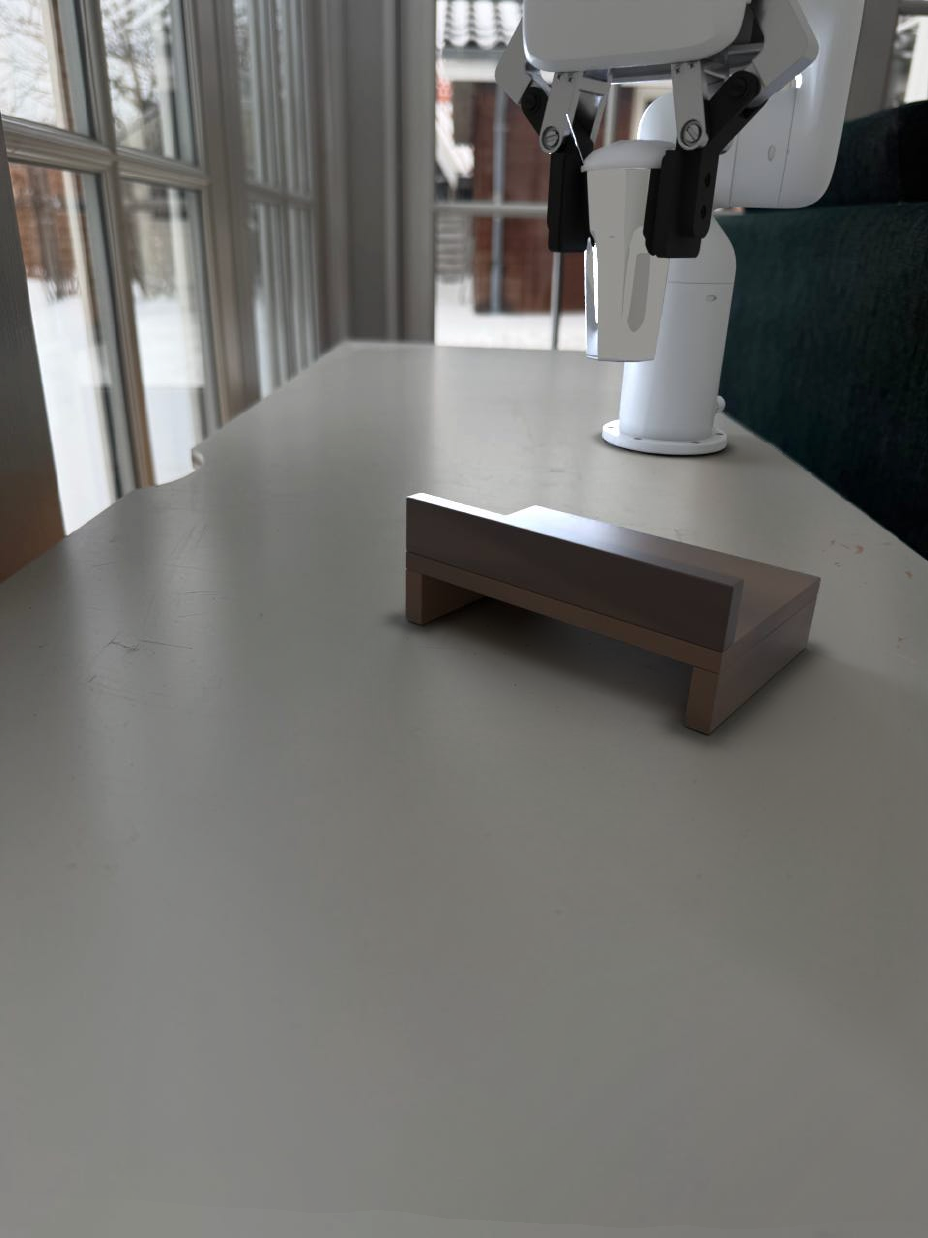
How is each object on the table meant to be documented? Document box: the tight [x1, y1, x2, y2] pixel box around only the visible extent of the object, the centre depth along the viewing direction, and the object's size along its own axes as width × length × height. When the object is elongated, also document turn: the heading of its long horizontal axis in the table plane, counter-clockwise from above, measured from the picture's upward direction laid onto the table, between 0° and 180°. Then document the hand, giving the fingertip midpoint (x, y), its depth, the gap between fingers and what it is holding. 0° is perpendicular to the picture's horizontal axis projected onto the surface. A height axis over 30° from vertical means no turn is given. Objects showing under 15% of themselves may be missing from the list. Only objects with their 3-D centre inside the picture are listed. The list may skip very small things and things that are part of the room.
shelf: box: [404, 492, 822, 735], centre depth 46 cm, size 12×18×7 cm, turn 51°
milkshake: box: [565, 114, 676, 363], centre depth 39 cm, size 4×5×10 cm
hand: (622, 249), depth 39 cm, fingers closed on milkshake, 4 cm apart
